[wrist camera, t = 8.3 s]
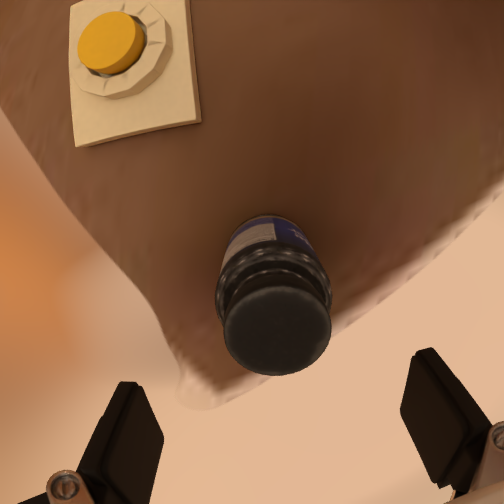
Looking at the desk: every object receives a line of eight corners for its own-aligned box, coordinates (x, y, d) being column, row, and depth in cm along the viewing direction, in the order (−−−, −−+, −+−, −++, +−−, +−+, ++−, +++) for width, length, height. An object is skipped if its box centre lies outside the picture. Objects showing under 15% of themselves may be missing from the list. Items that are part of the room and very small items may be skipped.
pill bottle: (321, 270, 24) (364, 357, 14) (249, 302, 25) (248, 404, 14) (286, 197, 22) (317, 243, 12) (211, 235, 23) (179, 308, 13)
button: (89, 30, 15) (76, 23, 13) (143, 12, 15) (135, 2, 13) (90, 81, 16) (77, 77, 14) (146, 65, 16) (137, 58, 14)
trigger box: (82, 14, 17) (58, -2, 13) (188, -18, 17) (177, -43, 13) (89, 146, 21) (61, 148, 17) (202, 122, 21) (191, 117, 17)
